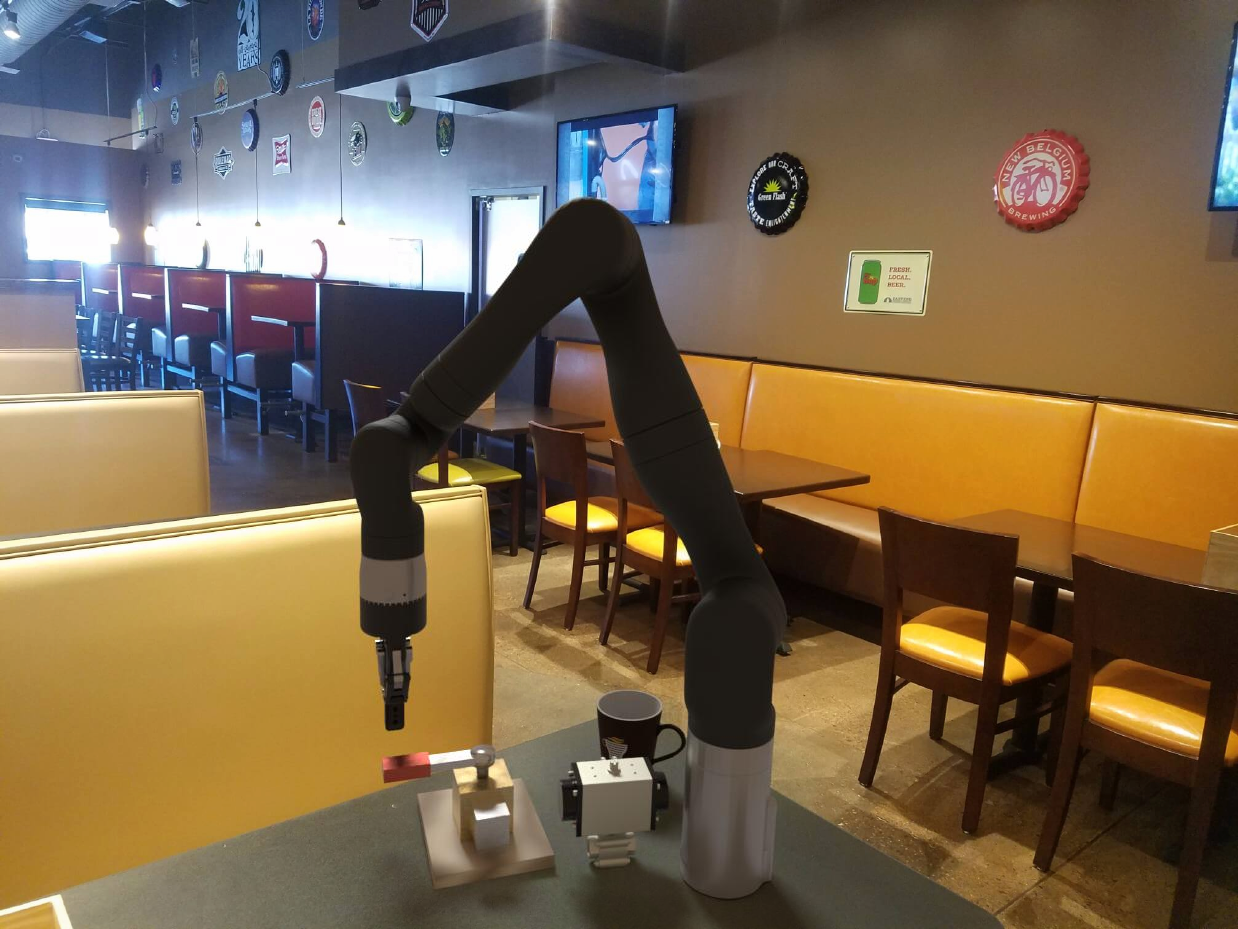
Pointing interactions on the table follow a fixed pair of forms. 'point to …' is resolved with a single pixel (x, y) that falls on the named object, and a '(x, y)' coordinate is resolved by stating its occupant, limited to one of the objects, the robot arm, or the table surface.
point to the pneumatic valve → (612, 805)
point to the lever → (435, 763)
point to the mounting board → (461, 859)
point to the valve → (484, 807)
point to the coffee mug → (632, 725)
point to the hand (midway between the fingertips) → (394, 727)
